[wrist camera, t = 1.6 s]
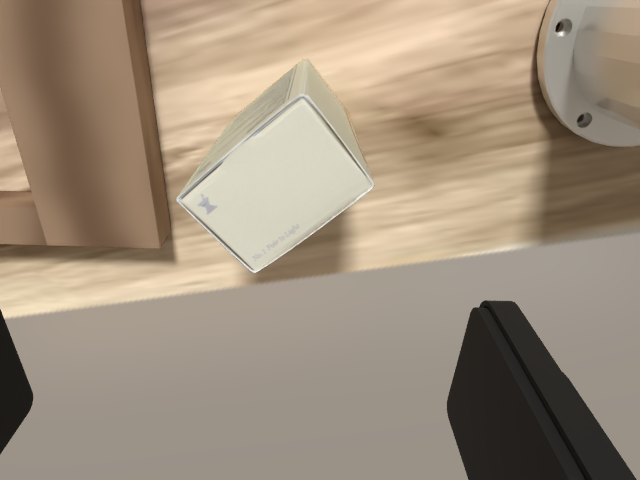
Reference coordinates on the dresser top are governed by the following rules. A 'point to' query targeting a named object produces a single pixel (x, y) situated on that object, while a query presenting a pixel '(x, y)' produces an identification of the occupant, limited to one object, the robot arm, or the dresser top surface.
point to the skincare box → (279, 170)
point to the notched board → (81, 125)
